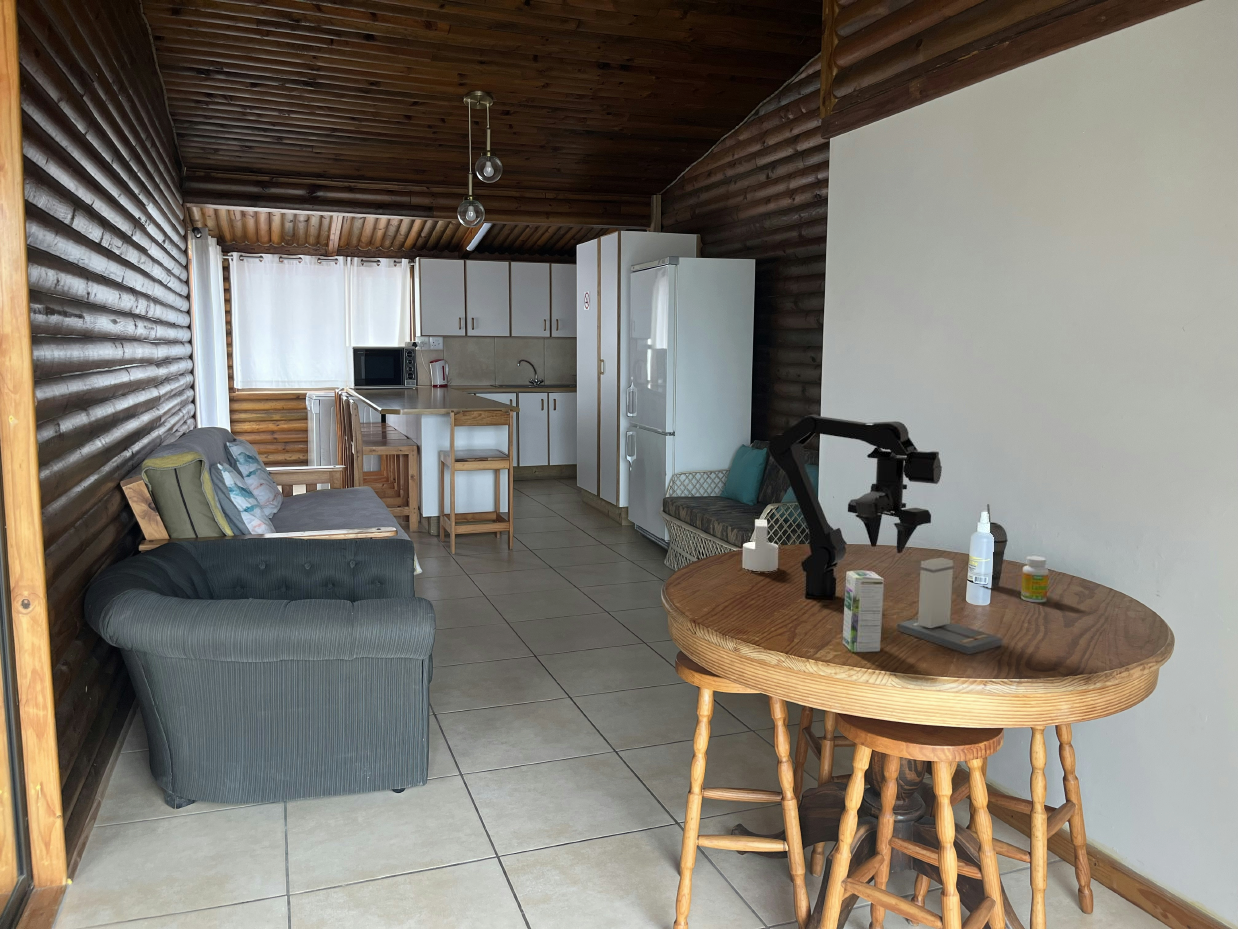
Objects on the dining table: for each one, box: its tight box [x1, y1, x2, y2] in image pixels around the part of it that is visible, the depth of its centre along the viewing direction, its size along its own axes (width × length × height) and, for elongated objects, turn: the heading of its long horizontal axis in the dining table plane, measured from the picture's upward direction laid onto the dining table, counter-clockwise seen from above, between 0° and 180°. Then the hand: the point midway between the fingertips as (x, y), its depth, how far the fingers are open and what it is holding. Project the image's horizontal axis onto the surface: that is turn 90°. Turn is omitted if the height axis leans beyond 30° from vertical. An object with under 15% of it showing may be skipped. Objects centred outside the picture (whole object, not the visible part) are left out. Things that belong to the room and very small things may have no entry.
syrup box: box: [842, 570, 885, 653], centre depth 173 cm, size 6×6×14 cm
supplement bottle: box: [1020, 555, 1049, 603], centre depth 207 cm, size 5×5×10 cm
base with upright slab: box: [742, 518, 779, 572], centre depth 234 cm, size 9×9×12 cm
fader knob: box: [917, 557, 954, 628], centre depth 182 cm, size 3×6×13 cm, turn 123°
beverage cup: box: [986, 503, 1009, 589], centre depth 217 cm, size 7×7×20 cm
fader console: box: [896, 618, 1003, 655], centre depth 180 cm, size 17×10×2 cm, turn 33°
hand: (886, 549), depth 199 cm, fingers open, 7 cm apart
